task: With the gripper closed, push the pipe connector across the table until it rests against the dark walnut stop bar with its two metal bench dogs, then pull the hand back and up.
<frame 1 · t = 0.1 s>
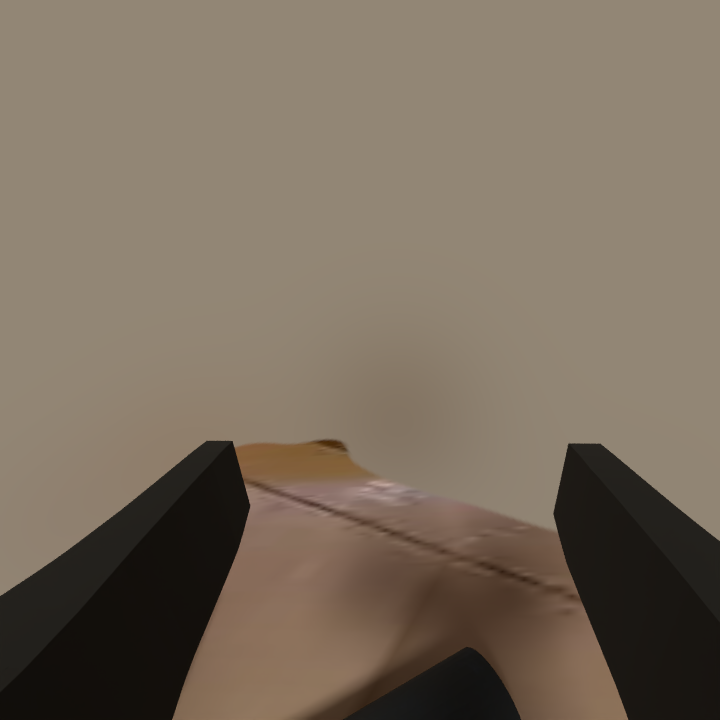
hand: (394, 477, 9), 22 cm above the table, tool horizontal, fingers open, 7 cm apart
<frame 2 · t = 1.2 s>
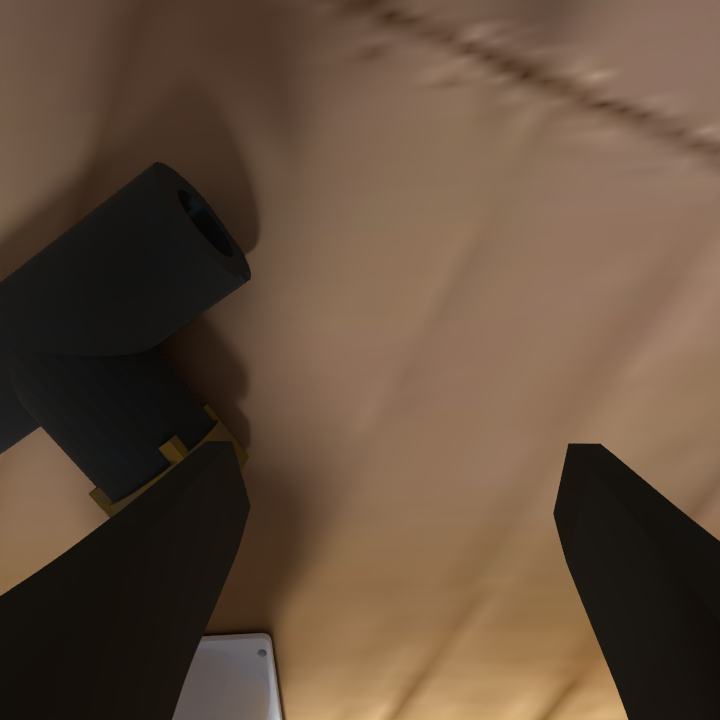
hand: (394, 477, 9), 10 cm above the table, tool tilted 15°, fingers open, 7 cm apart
pipe connector: (146, 377, 20), on the table
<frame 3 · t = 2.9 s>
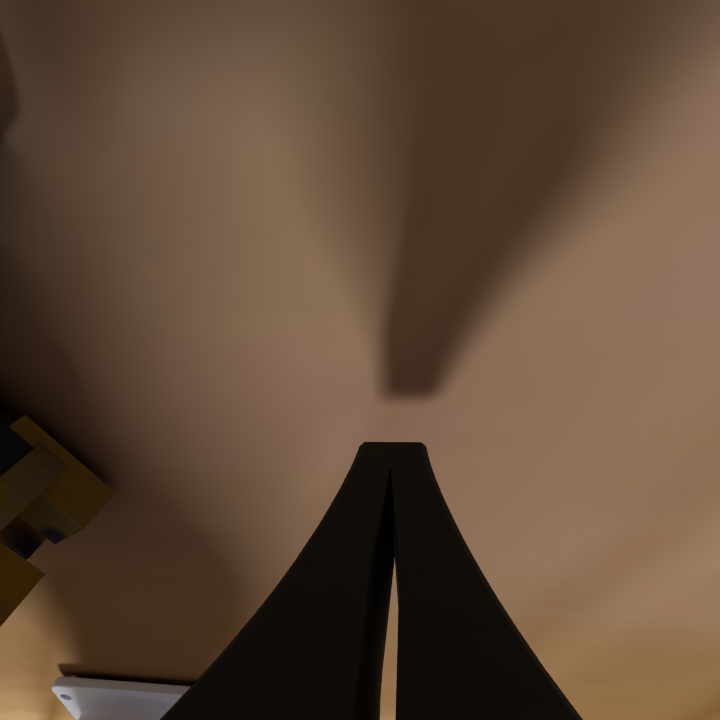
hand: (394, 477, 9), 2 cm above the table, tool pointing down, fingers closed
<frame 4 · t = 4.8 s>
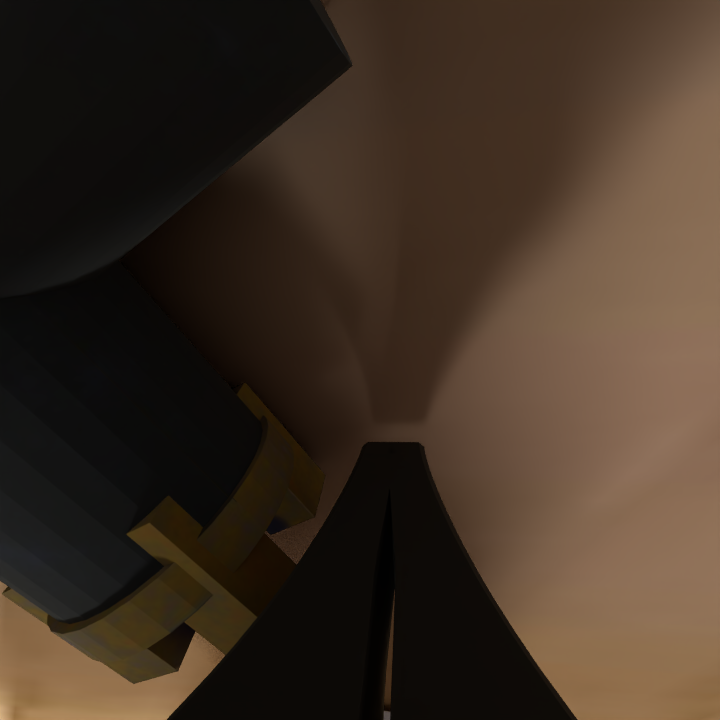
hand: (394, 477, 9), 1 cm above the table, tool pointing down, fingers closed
pipe connector: (127, 322, 10), on the table, touching gripper
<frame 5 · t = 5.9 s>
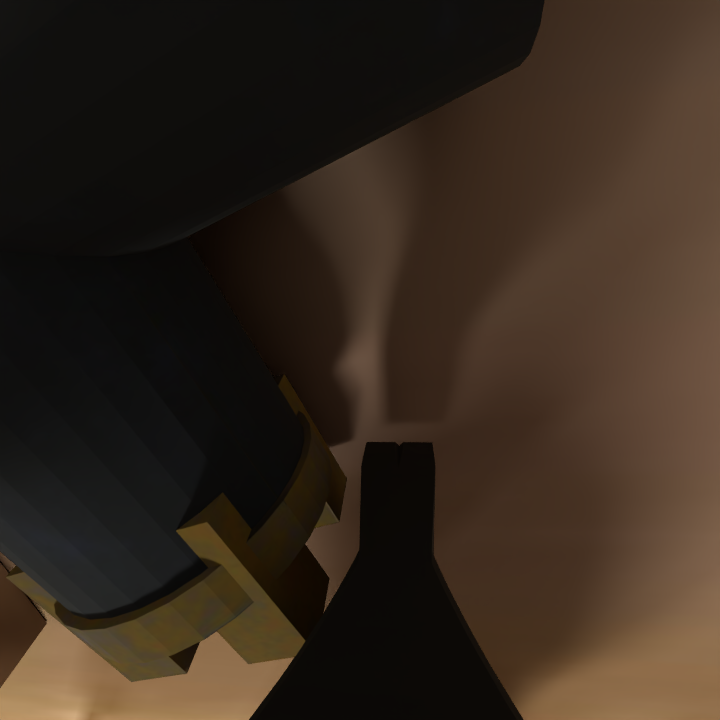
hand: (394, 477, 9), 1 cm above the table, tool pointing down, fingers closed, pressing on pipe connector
pipe connector: (161, 292, 9), on the table, touching gripper, stop bar
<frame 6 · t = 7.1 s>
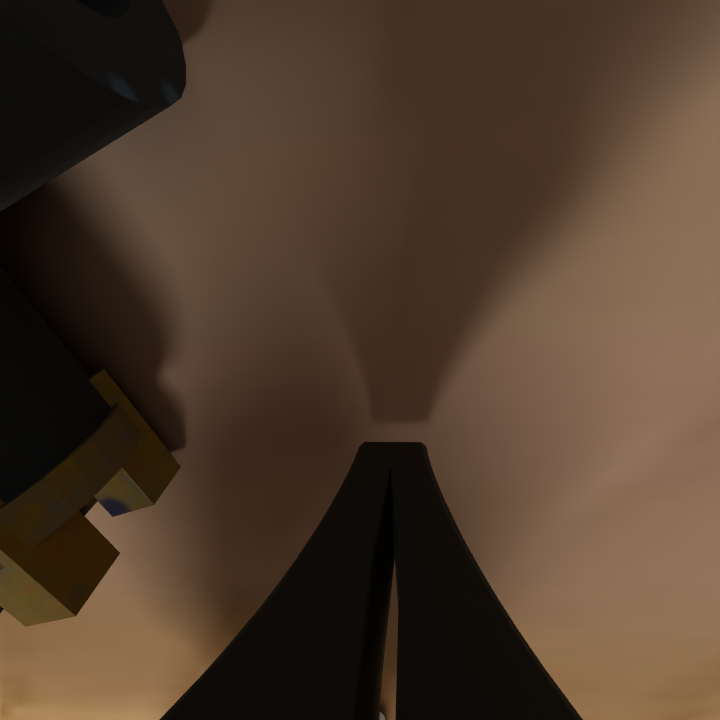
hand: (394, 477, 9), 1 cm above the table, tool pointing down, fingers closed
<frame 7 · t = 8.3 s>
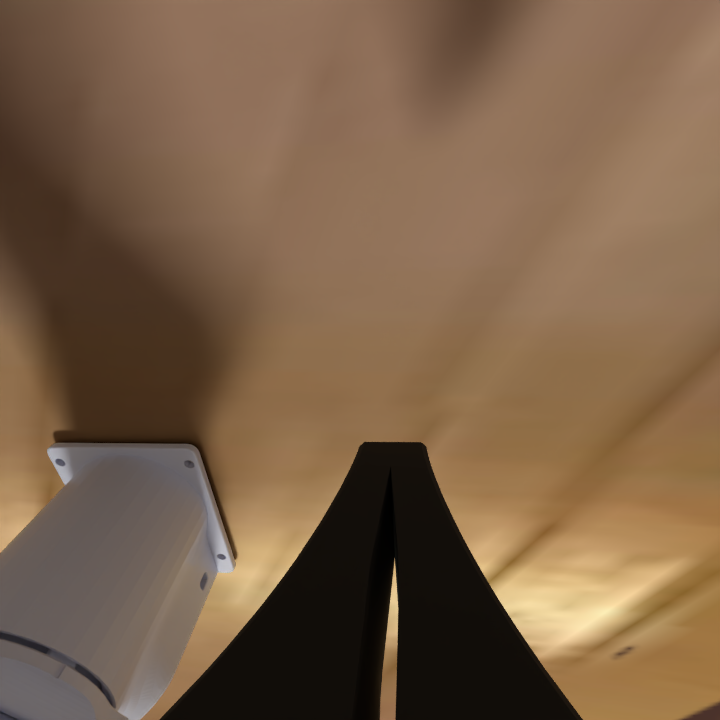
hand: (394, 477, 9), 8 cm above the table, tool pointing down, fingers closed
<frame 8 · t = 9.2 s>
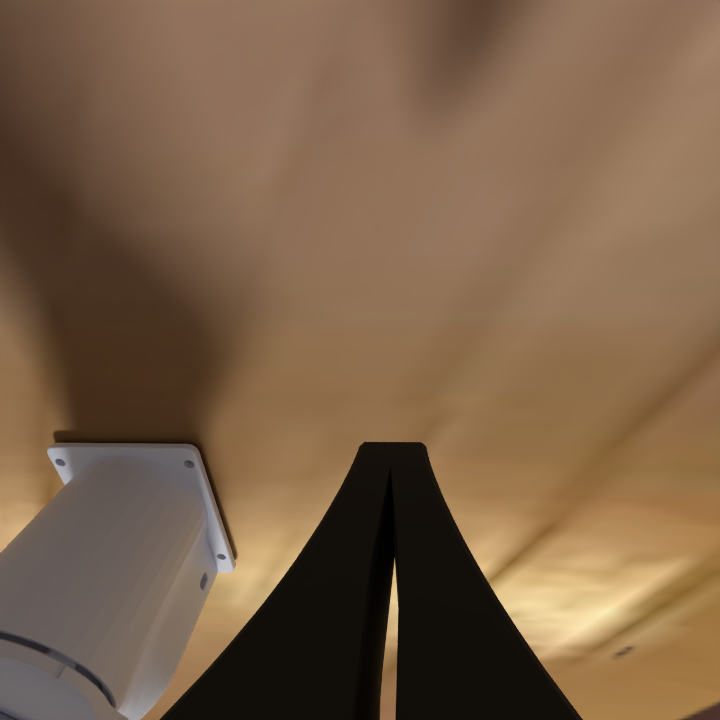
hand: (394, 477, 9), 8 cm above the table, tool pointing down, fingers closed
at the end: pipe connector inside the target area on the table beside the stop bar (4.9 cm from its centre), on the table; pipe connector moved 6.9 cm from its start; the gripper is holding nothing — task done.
